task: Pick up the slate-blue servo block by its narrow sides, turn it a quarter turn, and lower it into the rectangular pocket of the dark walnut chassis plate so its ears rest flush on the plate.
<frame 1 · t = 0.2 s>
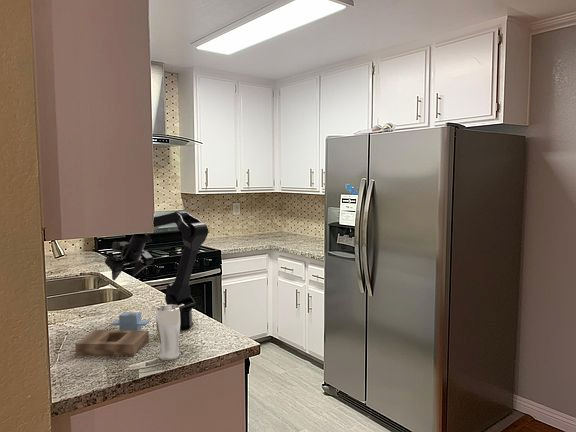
hand: (123, 277, 171), 15 cm above the worktop, tool tilted 30°, fingers open, 9 cm apart
chassis plate: (113, 347, 137), on the worktop
servo block: (130, 333, 150), on the worktop
beer glass: (169, 357, 130), on the worktop
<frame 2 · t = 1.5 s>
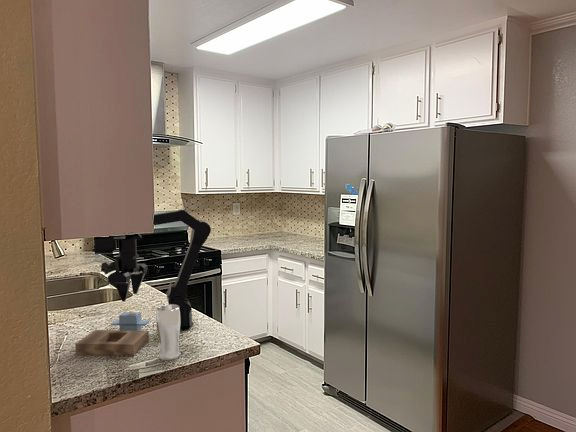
hand: (129, 297, 149), 13 cm above the worktop, tool pointing down, fingers open, 9 cm apart
nothing on the worktop moved.
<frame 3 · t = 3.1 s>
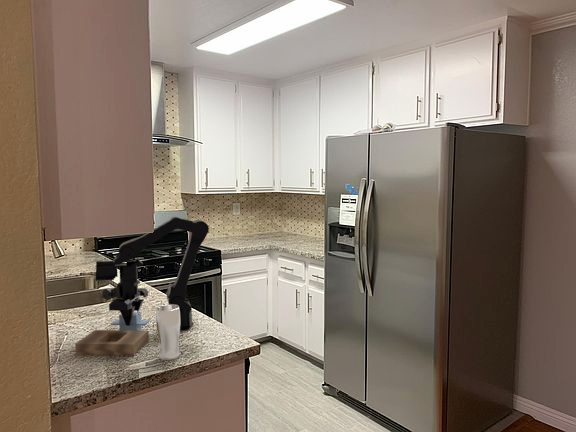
hand: (130, 323, 150), 4 cm above the worktop, tool pointing down, fingers closed on servo block, 4 cm apart
servo block: (130, 333, 150), on the worktop, touching gripper
everything else where it was.
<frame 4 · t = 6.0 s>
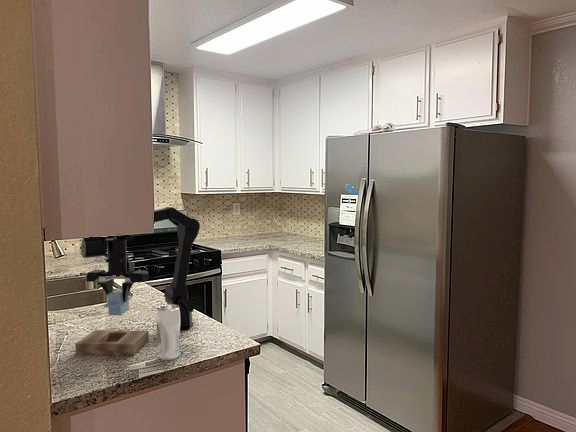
hand: (118, 302, 142), 13 cm above the worktop, tool pointing down, fingers closed on servo block, 4 cm apart
servo block: (118, 312, 142), point 10 cm above the worktop, touching gripper
everything else where it was.
when the fingers open (4 cm above the worktop, at t = 9.4 s): servo block stays where it is, resting on chassis plate.
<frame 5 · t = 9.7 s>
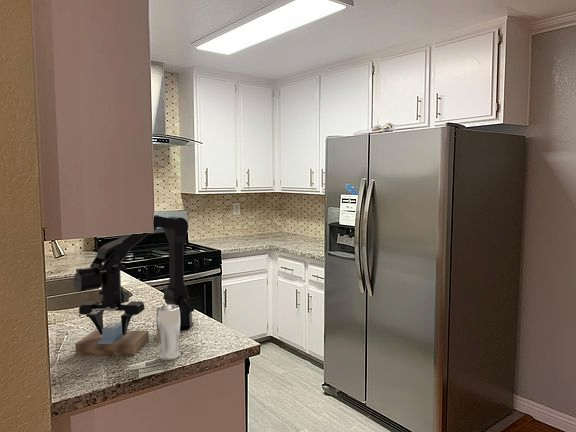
hand: (113, 334, 137), 4 cm above the worktop, tool pointing down, fingers open, 7 cm apart
servo block: (113, 347, 138), resting on chassis plate
everything else where it was.
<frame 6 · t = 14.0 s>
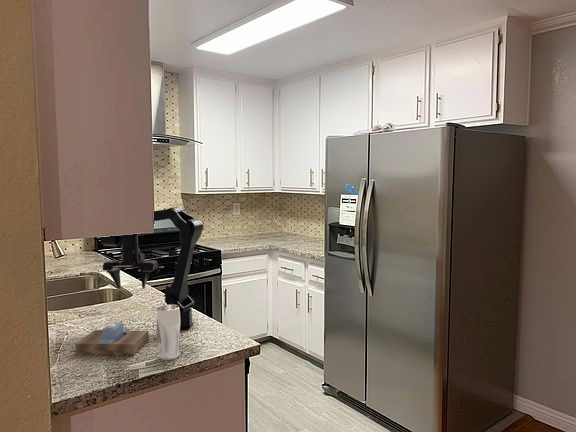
hand: (131, 288, 161), 13 cm above the worktop, tool pointing down, fingers open, 9 cm apart
nothing on the worktop moved.
at the end: servo block 0.1 cm off-centre on the chassis plate, point 0.0 cm above the chassis plate's base; servo block tilted 0°; the gripper is holding nothing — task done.
